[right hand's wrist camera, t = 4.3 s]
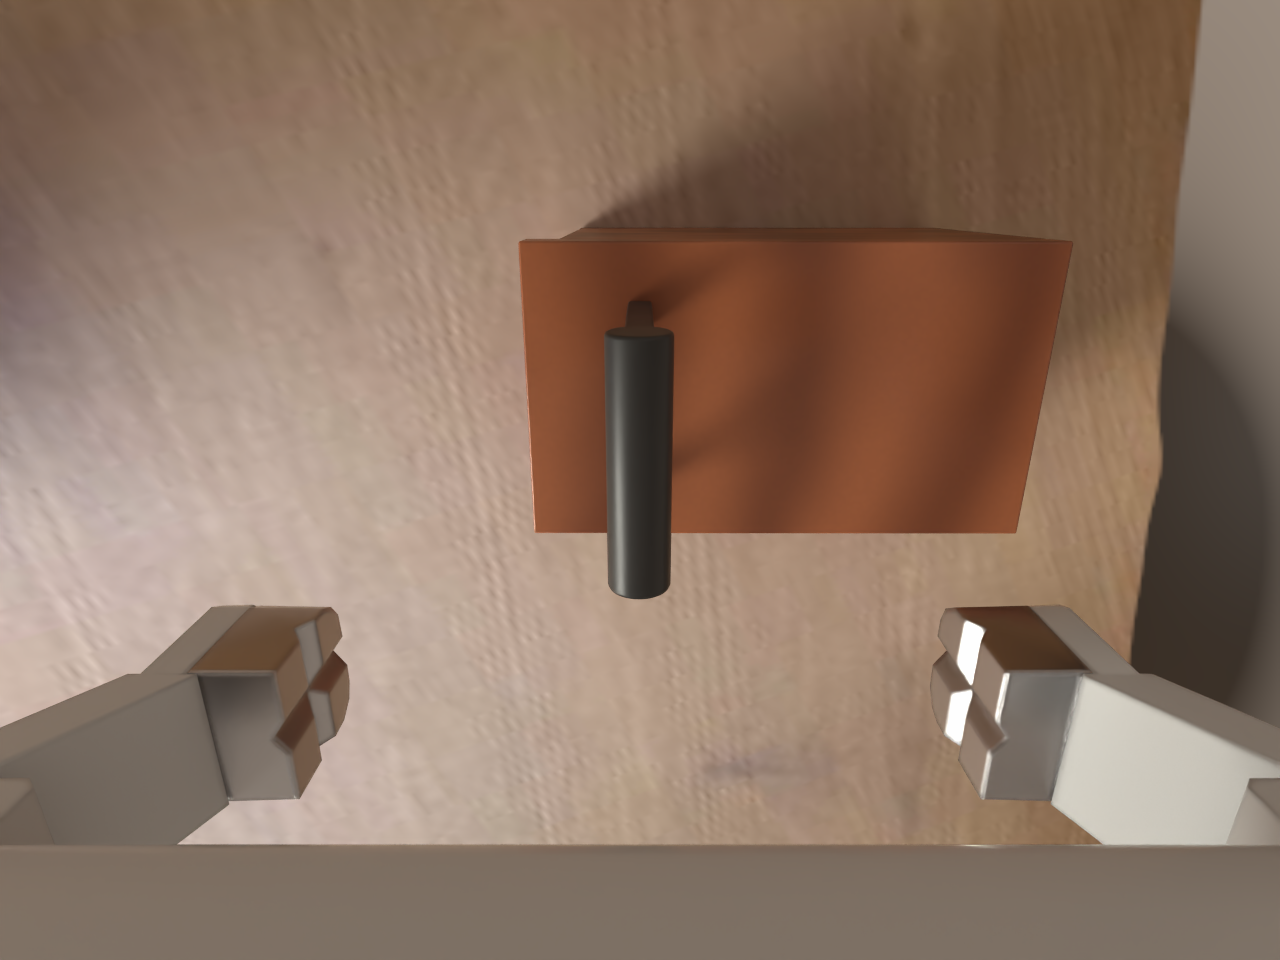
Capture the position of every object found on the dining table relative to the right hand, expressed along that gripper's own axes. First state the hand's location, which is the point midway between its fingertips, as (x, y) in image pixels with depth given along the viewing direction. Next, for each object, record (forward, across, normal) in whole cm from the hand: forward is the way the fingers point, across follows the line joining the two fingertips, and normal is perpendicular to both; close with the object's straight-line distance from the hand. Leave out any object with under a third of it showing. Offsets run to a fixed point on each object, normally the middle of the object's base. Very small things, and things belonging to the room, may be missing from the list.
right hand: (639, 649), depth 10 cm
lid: (+15, +4, 0) cm, 15 cm away
